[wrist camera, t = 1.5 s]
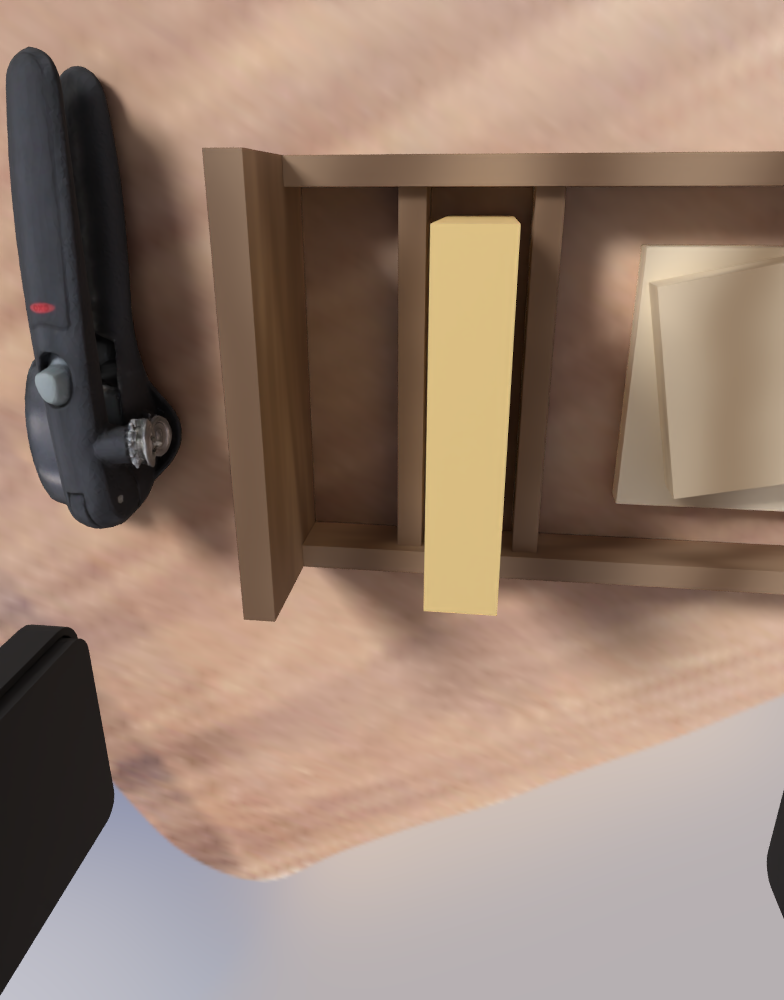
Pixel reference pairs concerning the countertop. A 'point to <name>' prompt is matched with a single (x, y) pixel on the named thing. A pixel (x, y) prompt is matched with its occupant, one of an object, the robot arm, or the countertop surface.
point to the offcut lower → (640, 411)
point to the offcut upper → (721, 377)
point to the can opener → (80, 299)
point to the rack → (418, 367)
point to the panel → (468, 408)
